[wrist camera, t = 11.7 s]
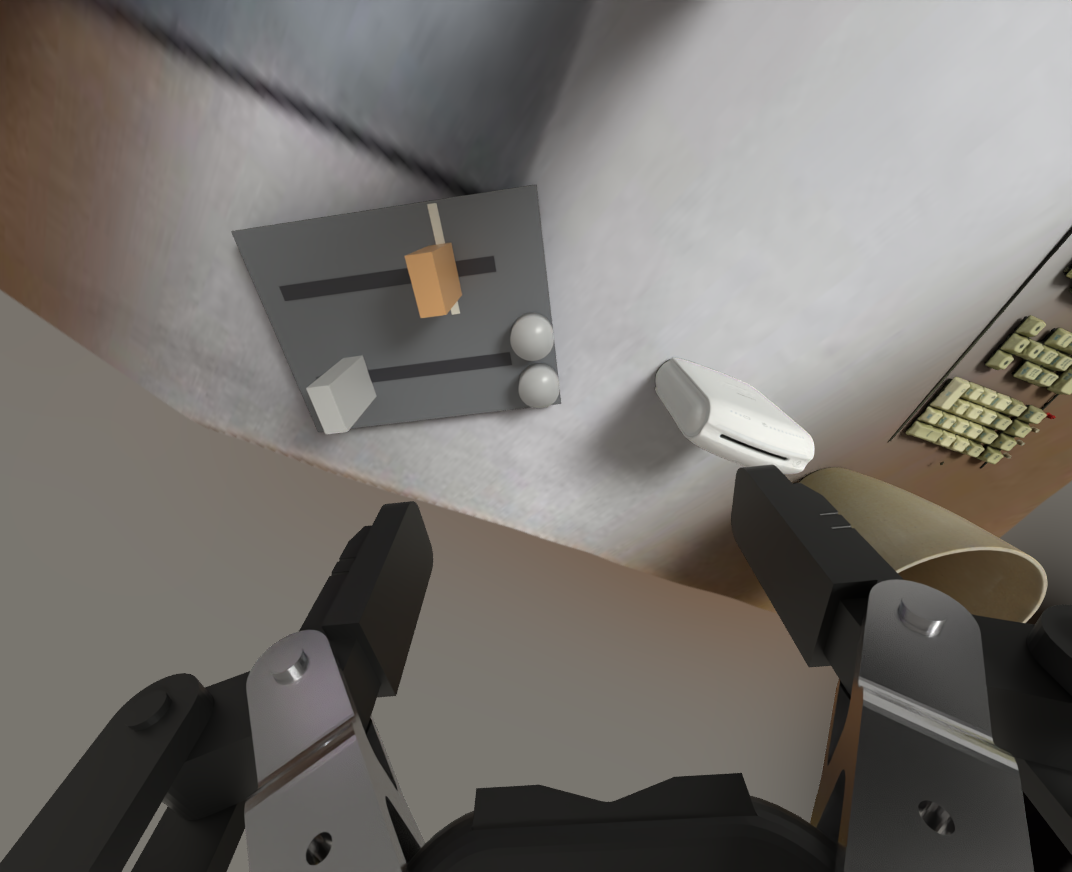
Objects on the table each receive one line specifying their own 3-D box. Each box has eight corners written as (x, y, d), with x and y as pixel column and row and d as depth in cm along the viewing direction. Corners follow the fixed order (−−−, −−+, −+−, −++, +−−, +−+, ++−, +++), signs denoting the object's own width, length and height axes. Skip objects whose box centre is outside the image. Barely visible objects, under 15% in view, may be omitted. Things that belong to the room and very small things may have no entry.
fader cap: (428, 245, 33) (404, 255, 27) (451, 242, 33) (431, 251, 27) (441, 297, 35) (420, 318, 29) (462, 294, 35) (446, 314, 29)
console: (246, 229, 35) (161, 238, 27) (536, 185, 33) (536, 180, 25) (327, 423, 44) (280, 472, 36) (560, 395, 42) (565, 440, 34)
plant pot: (731, 486, 47) (812, 606, 33) (867, 411, 43) (1027, 513, 29) (786, 563, 53) (874, 693, 39) (911, 503, 48) (1062, 626, 34)
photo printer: (761, 385, 41) (840, 451, 31) (736, 421, 43) (802, 495, 33) (668, 349, 40) (716, 404, 29) (646, 388, 42) (684, 455, 31)
